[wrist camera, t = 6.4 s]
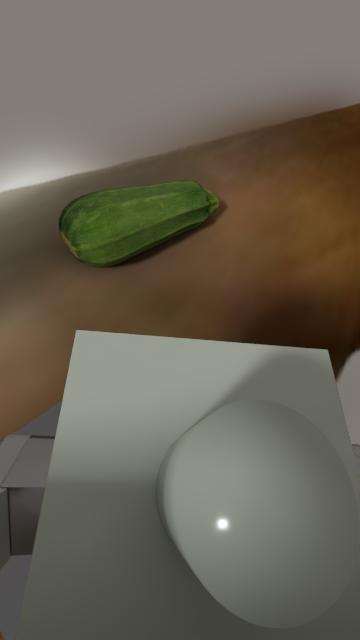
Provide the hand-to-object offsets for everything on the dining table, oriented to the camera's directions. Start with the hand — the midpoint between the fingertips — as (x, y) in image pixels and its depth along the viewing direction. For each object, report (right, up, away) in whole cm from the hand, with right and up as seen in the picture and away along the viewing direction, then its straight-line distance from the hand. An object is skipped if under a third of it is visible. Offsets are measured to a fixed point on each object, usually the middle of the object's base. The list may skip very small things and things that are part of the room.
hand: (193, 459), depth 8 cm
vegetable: (-4, +14, +28) cm, 32 cm away
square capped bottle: (-1, -3, +4) cm, 5 cm away
